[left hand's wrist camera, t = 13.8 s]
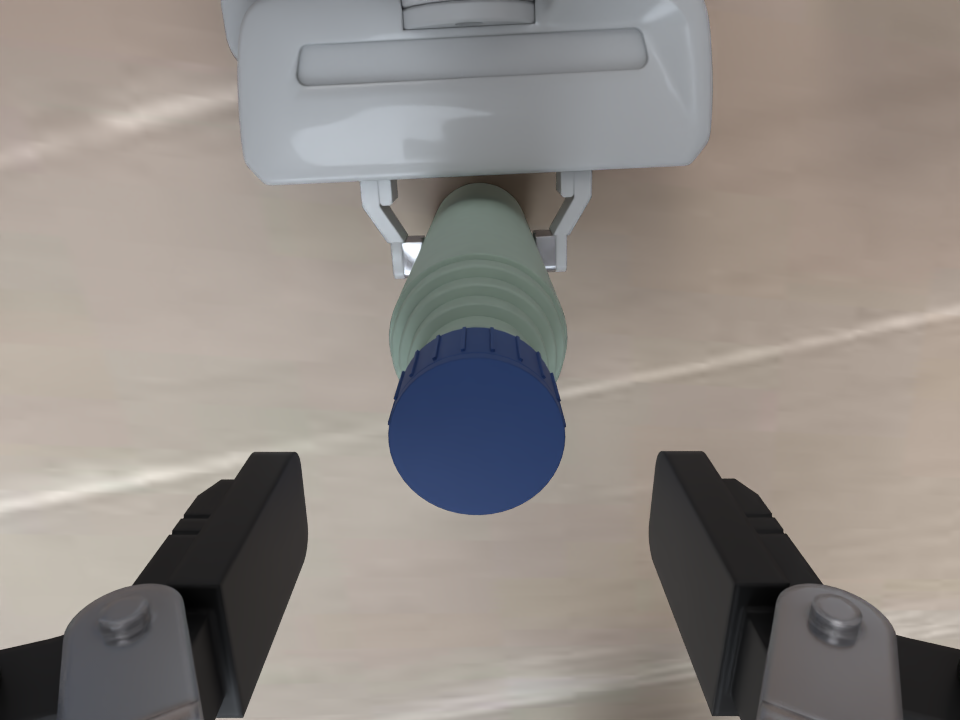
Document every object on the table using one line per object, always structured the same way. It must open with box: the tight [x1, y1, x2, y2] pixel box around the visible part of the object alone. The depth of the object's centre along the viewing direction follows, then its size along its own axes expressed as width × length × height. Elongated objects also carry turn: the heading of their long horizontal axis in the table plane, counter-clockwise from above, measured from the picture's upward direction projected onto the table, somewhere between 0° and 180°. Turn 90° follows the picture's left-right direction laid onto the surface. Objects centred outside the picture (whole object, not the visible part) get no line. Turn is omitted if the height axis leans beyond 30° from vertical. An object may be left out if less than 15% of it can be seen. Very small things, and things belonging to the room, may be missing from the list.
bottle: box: [389, 183, 567, 381], centre depth 26 cm, size 5×5×25 cm
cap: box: [388, 327, 566, 515], centre depth 15 cm, size 4×4×2 cm
